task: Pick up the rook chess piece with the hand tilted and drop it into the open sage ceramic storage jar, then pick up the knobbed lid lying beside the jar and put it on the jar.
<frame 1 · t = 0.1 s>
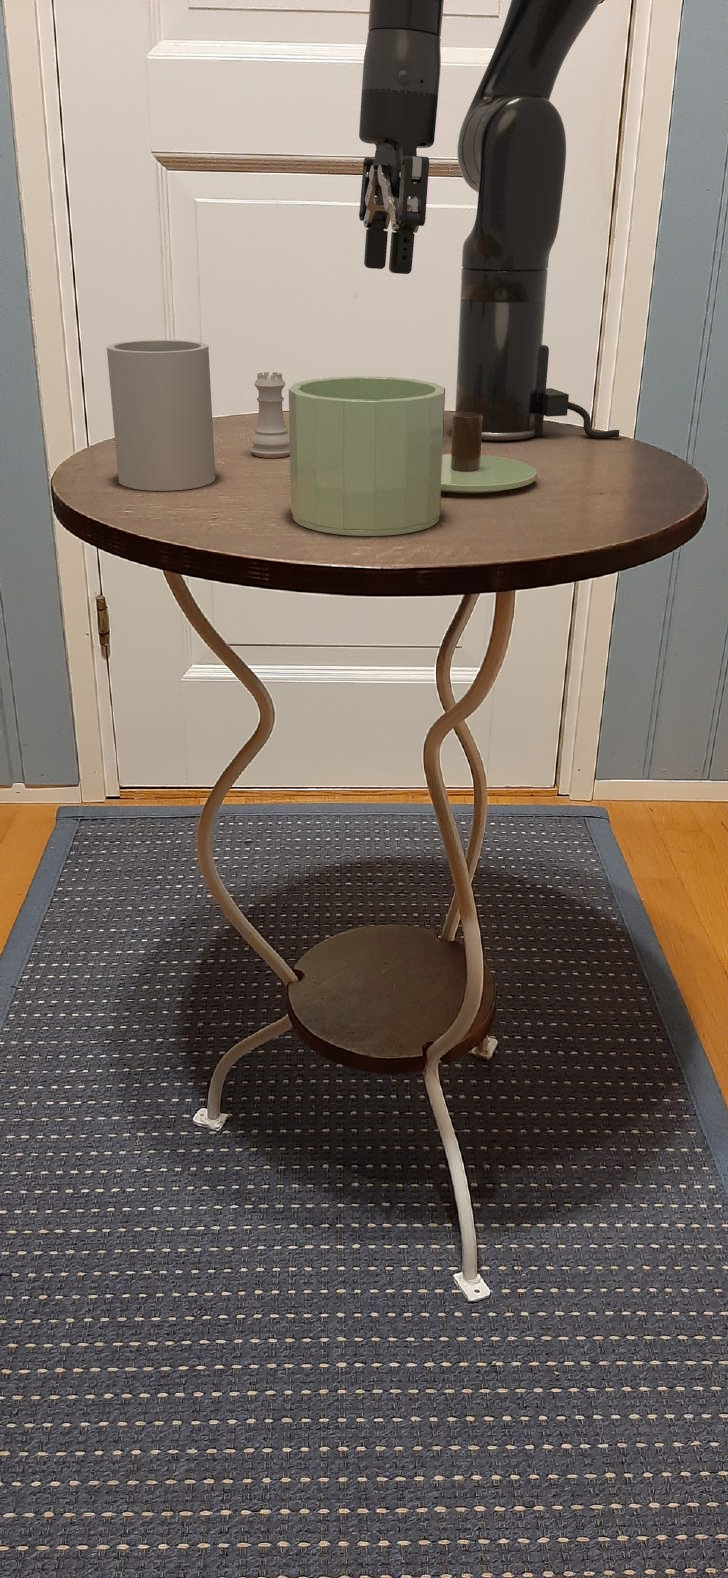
hand: (386, 270, 119), 17 cm above the table, tool pointing down, fingers open, 8 cm apart
jar lid: (464, 475, 110), point 1 cm above the table
jar: (366, 516, 98), on the table
cup: (167, 481, 110), on the table
rook chess piece: (271, 455, 121), on the table
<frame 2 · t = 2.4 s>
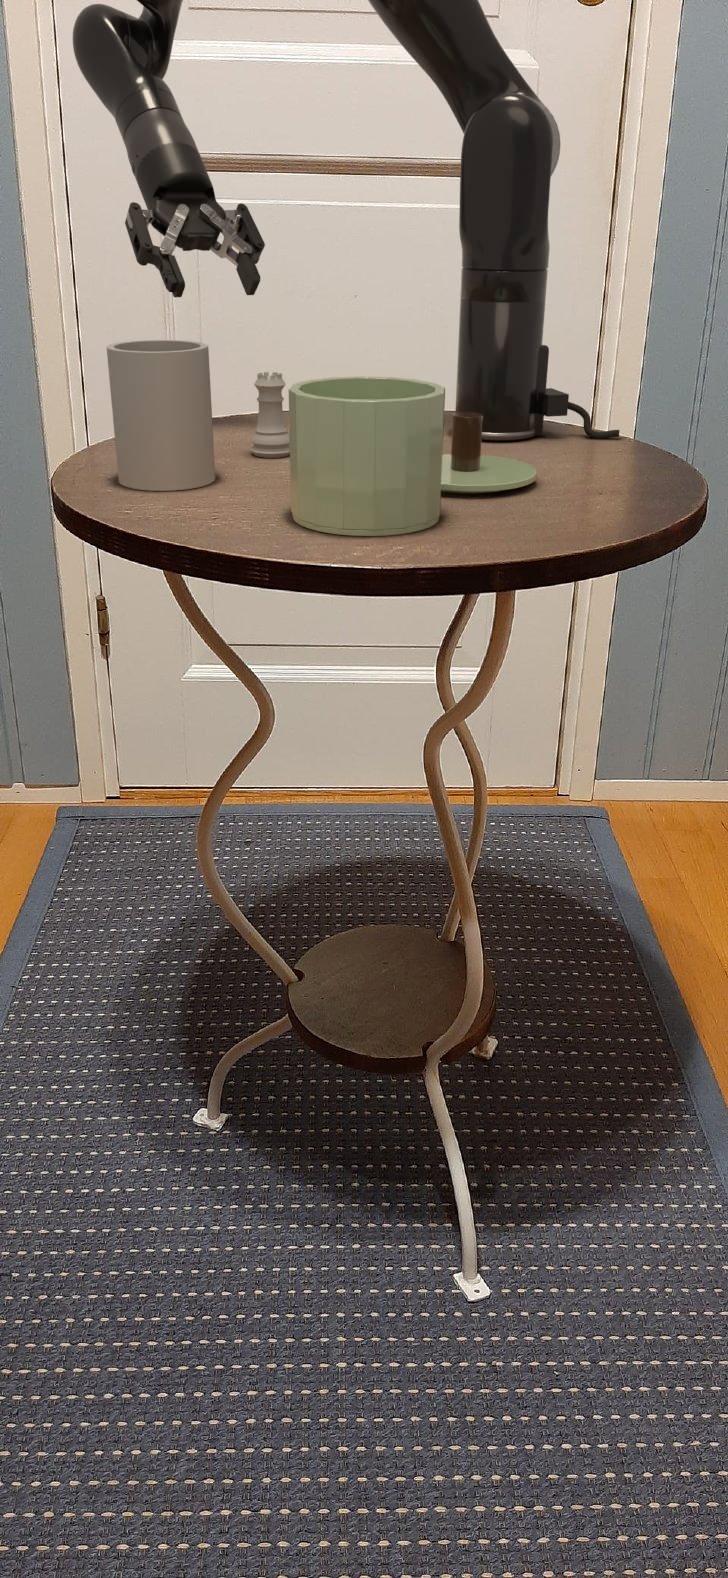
hand: (217, 291, 122), 15 cm above the table, tool tilted 45°, fingers open, 8 cm apart
nothing on the table moved.
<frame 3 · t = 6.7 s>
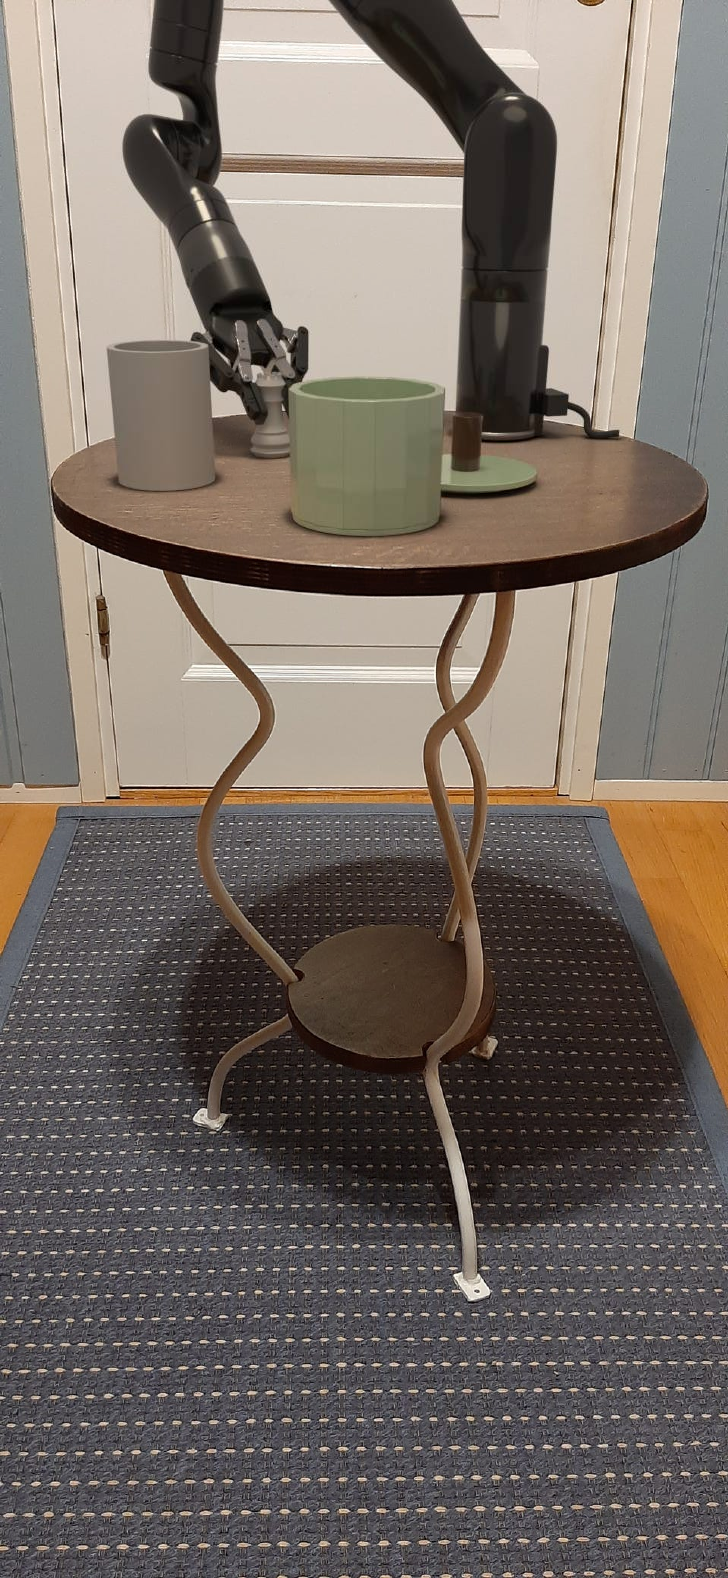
hand: (279, 417, 117), 4 cm above the table, tool tilted 45°, fingers closed on rook chess piece, 3 cm apart
rook chess piece: (271, 455, 121), on the table, touching gripper
everything else where it was.
when the fingers open (14 cm above the table, at t = 13.7 s): rook chess piece drops 9 cm, resting on jar.
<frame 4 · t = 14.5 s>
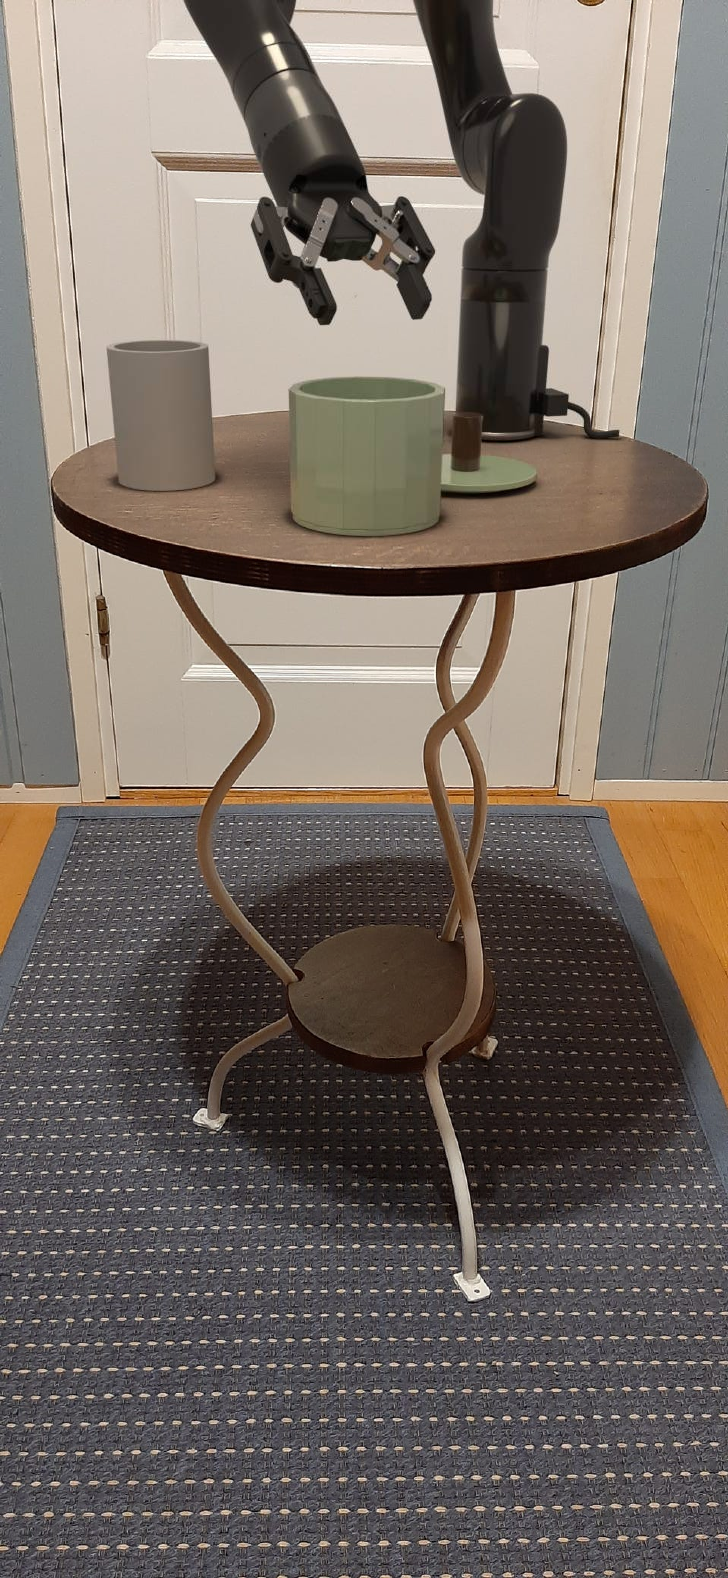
hand: (377, 315, 90), 16 cm above the table, tool tilted 45°, fingers open, 8 cm apart
rook chess piece: (364, 512, 98), resting on jar
everything else where it was.
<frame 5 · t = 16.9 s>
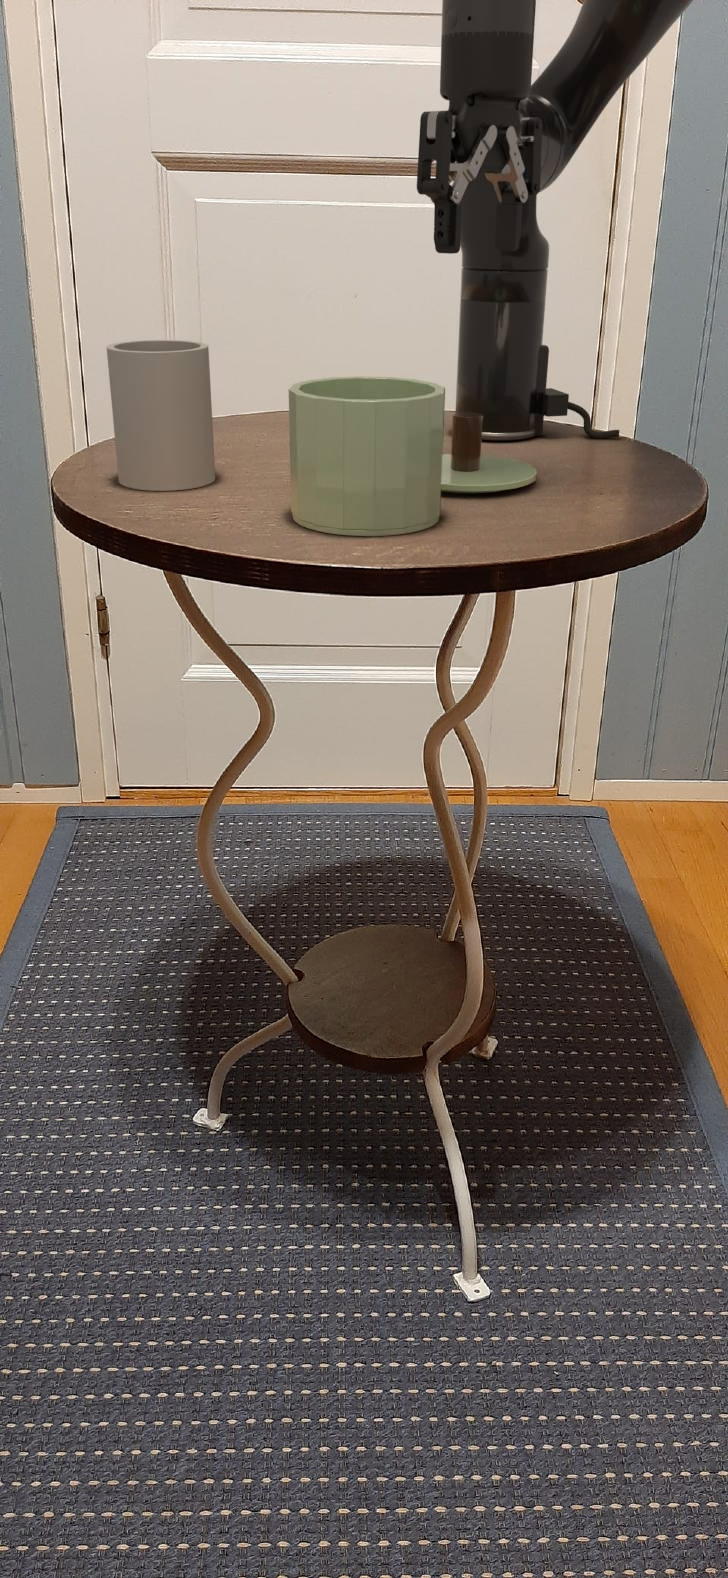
hand: (478, 251, 101), 20 cm above the table, tool pointing down, fingers open, 8 cm apart
nothing on the table moved.
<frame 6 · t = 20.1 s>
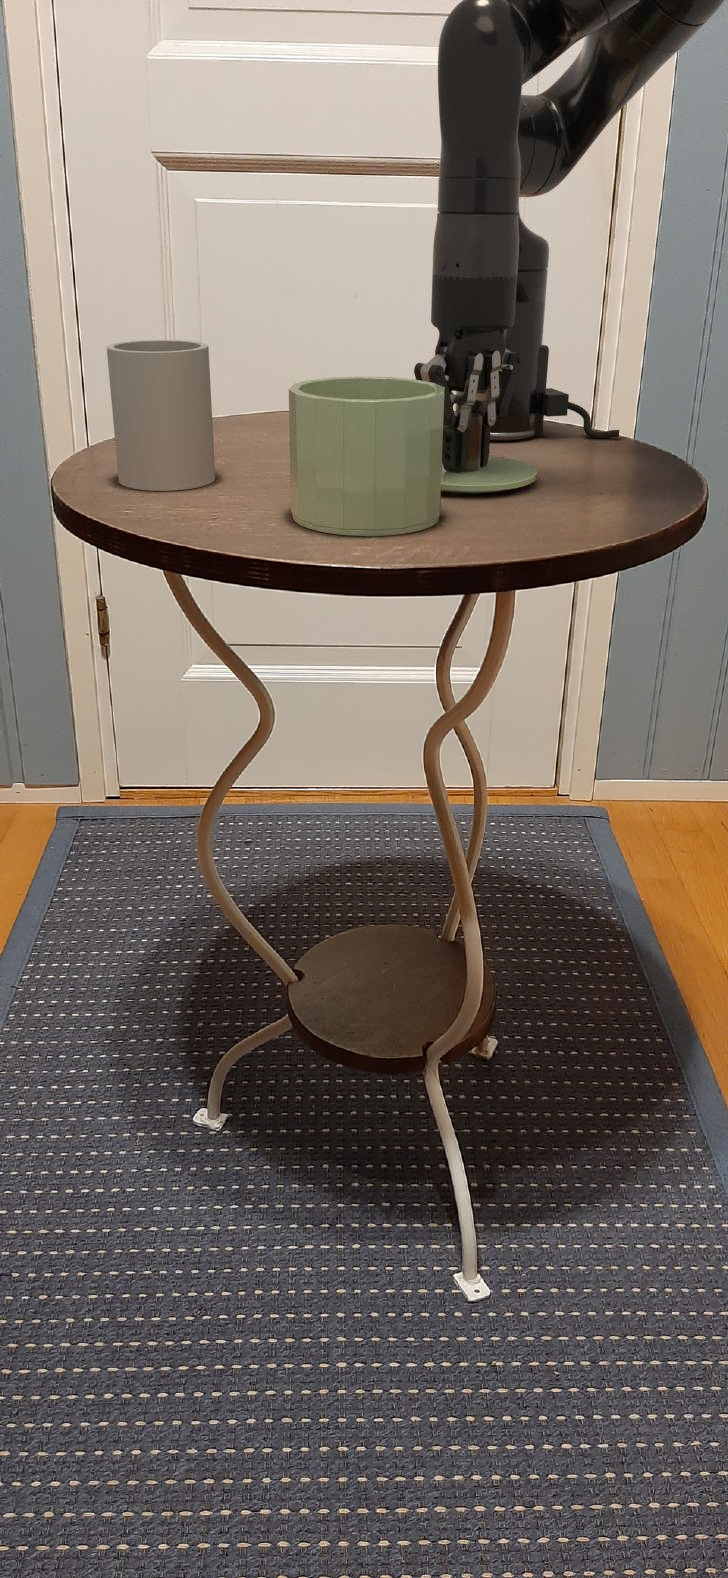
hand: (465, 467, 110), 1 cm above the table, tool pointing down, fingers closed on jar lid, 3 cm apart
jar lid: (464, 475, 110), point 1 cm above the table, touching gripper
everything else where it was.
when the fingers open (11 cm above the table, at t = 27.6 s): jar lid stays where it is, resting on jar.
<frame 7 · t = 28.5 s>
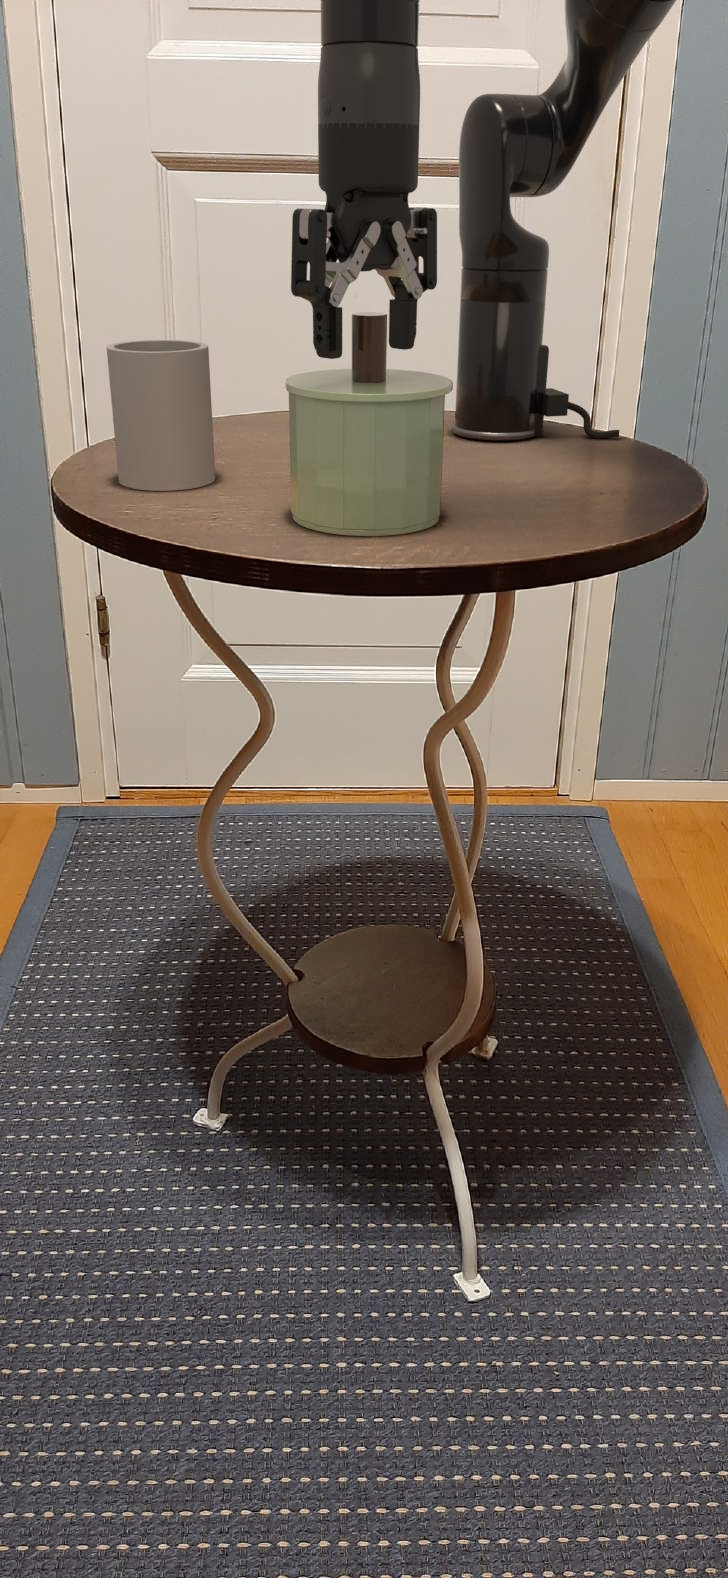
hand: (366, 352, 92), 13 cm above the table, tool pointing down, fingers open, 8 cm apart
jar lid: (368, 388, 93), point 10 cm above the table, touching jar
everything else where it was.
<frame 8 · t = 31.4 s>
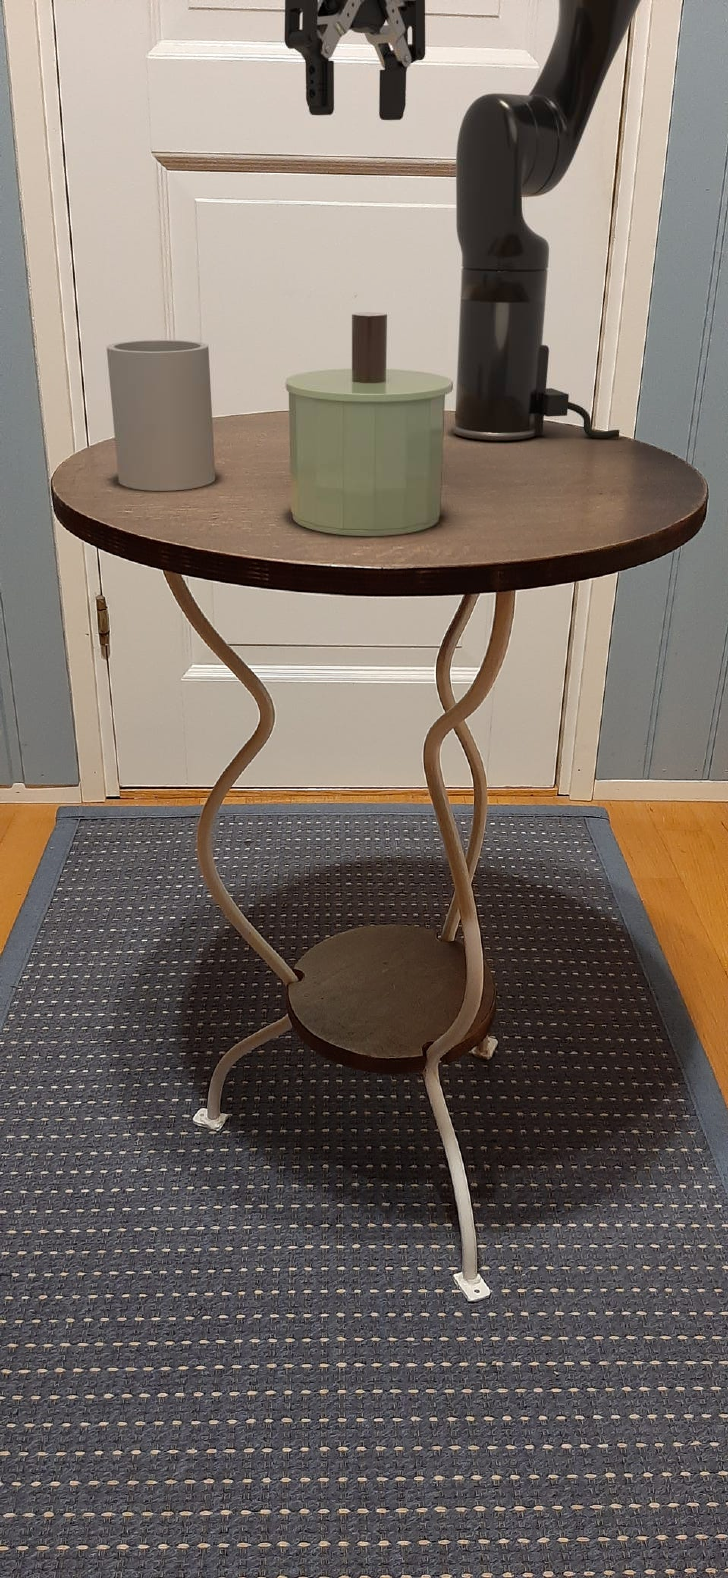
hand: (357, 117, 96), 30 cm above the table, tool pointing down, fingers open, 8 cm apart
nothing on the table moved.
at the end: rook chess piece inside the target area in the jar (0.1 cm from its centre), point 0.3 cm above the jar's base; jar lid 0.1 cm off-centre on the jar, point 10.5 cm above the jar's base; jar lid tilted 0° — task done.
